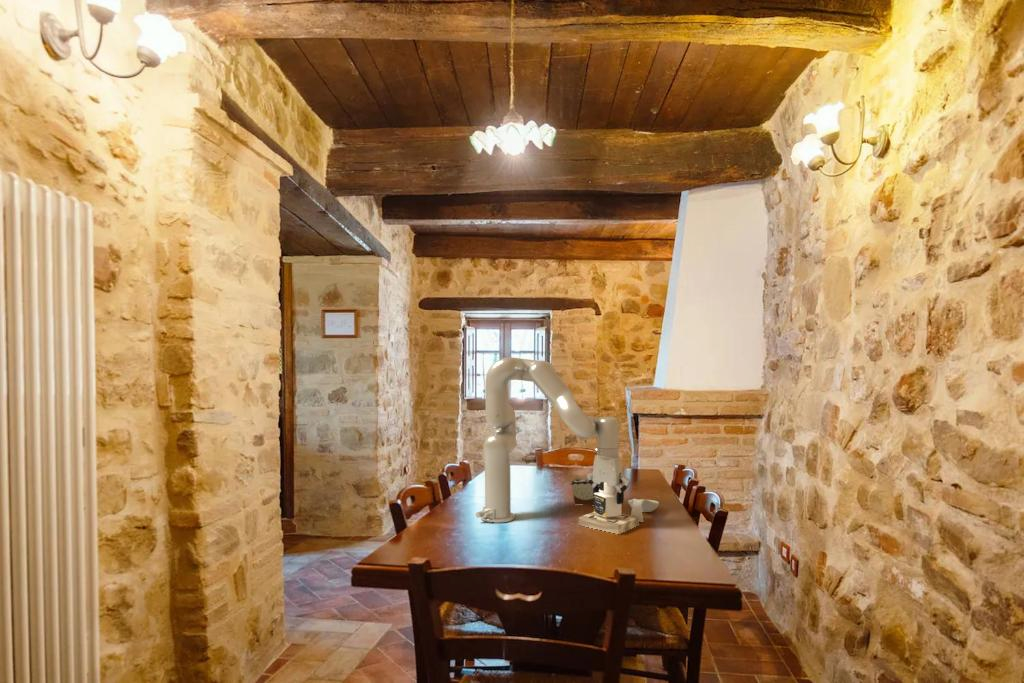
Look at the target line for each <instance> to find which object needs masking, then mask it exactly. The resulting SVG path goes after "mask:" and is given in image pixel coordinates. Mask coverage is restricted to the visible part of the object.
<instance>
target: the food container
mask: <svg viewBox="0 0 1024 683" xmlns="http://www.w3.org/2000/svg"><path fill="white" fill-rule="evenodd" d="M570 486H571V488H572V495H573V497H572V498H573V505H574V504H583V505H594V496H593V488H592V485H591V484H590V483H589V480H588V477H579V478H578V477H576V478H573V479H571V481H570ZM598 487H599V486H598Z"/></svg>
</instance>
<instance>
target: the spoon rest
mask: <svg viewBox="0 0 1024 683" xmlns="http://www.w3.org/2000/svg"><path fill="white" fill-rule="evenodd" d="M627 502H628V504H629V506H630V508H631V511H630V515H631V516H636V517H639V522H643V523H644V515H643V514H644V513H642V512H650V513H652V512H654V511H655V510H656V509H657V508H658V507H659V505H660V502H659V501H657V500H653V499H646V498H645V499H644V498H642V499H639V498H638V499H637V498H632V499H629V500H627Z"/></svg>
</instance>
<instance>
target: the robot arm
mask: <svg viewBox="0 0 1024 683" xmlns="http://www.w3.org/2000/svg"><path fill="white" fill-rule="evenodd" d="M555 371H556V370H555V368H554V366H553V365H552V363H551V362H549V361H546V360H537V359H530V358H529V359H527V358H520V357H519V358H518V357H510V356H508V357H507V356H506V357H503V358H500V359H499V360H497V361H494V362H493V363H492V365H491V366H490V367H489V369H488V371H487V373H486V375H485V376H486V377H485V421H486V422H485V423H486V424H487V425H488V427H489V428H491V432H492V433H491V434H489V435H488V436H487V437H486V438H485V440H484V441H483V442H484V443H483V446H482V447H483V448H482V449H483V450H482V452H483V459H484V461H483V462H484V506H483V508H482V510H481V511H477V512H475V517H476V518H480V519H481V521H484V522H487V523H492V522H494V523H495V524H496V523H497V524H501V523H508V522H511V521H514V520H515V518H516V517H515V516H516V515H515V514H514V513H512V512H511V462H510V453H511V452H513V450H514V449H515V447H516V443H517V435H516V434H517V429H516V428H517V427H516V425H517V424H516V420H517V419H516V412H515V409H514V408H513V406H512V405H511V404H510V403H509V388H508V383H509V381H523V382H532V383H533V384H534V385H535V386H536V387H537V388H538V389H539V391H540V392H541V394H543V395H544V396H545V398H546V399H547V400H548V401H549V403H550V404H551V405H552V407H553V408H554V410H555V411H556V412H557V414H558V415H559V417H560V418H561V419H562V421H563V422H564V423H565V424H566V426H567V427H568V428H569V429H570V430H571V432H572V433H573V434H574V436H577V438H579V439H581V440H588V439H590V438H592V437H594V436H596V444H597V445H596V447H595V448H594V451H595V452H596V455H594V460H593V466H592V472H590V473H589V472H588V473H587V474H586V478H588V480H589V483H590V484H591V485H592V488H593V496H594V493H598V492H599V487H598V486H599V484H600V482H605V483H607V485H608V486H612V487H614V486H615V487H616V494H617V504H621V503H622V504H623V503H624V501H625V500H624V498H625V497H624V496H625V494H624V493H625V491H626V490H627V489H628V488H629V487H630V484H631V480H630V479H629V478H627V477H626V476H625V475H624V474H623V465H622V459H621V456H620V453H619V451H620V450H619V448H620V447H619V445H620V444H619V432H620V431H619V427H620V426H619V419H617V418H616V417H611V416H600V417H599V416H593V415H587V414H586V413H585V412H584V410H582V408H581V407H580V406H579V405H578V403H577V401H576V400H575V398H574V395H573V393H572V391H571V389H570V388H569V387H568V385H567V384H566V383H565V382H564V380H562V378H561V377H560V376H559V375H558V373H557V372H555ZM623 483H624V484H623ZM494 523H493V524H494Z"/></svg>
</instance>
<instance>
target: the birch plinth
mask: <svg viewBox="0 0 1024 683" xmlns="http://www.w3.org/2000/svg"><path fill="white" fill-rule="evenodd" d="M579 525H581V526H580V527H582V526H585V527H584V528H586V527H589V528H588V529H591V528H593V529H592V530H595V529H598V530H597V531H599V530H602V531H601V532H604V531H606V532H605V533H608V532H611V533H610V534H613V533H615V534H614V535H617V534H619V535H621V533H622V534H624V533H626V532H628V531H631V530H633V529H635V528H637V527H636V526H638V525H639V526H640V523H639V517H636V516H631V514H630V515H629V514H625V513H621V516H614V517H607V518H605V517H603V516H600V515H598V514H595V513H594V511H592V512H589V513H586V514H584V515H582V516H579V517H578V526H579ZM639 526H638V527H639ZM634 527H635V528H634ZM632 528H633V529H632ZM630 529H631V530H630ZM625 531H626V532H625ZM623 532H624V533H623Z"/></svg>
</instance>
